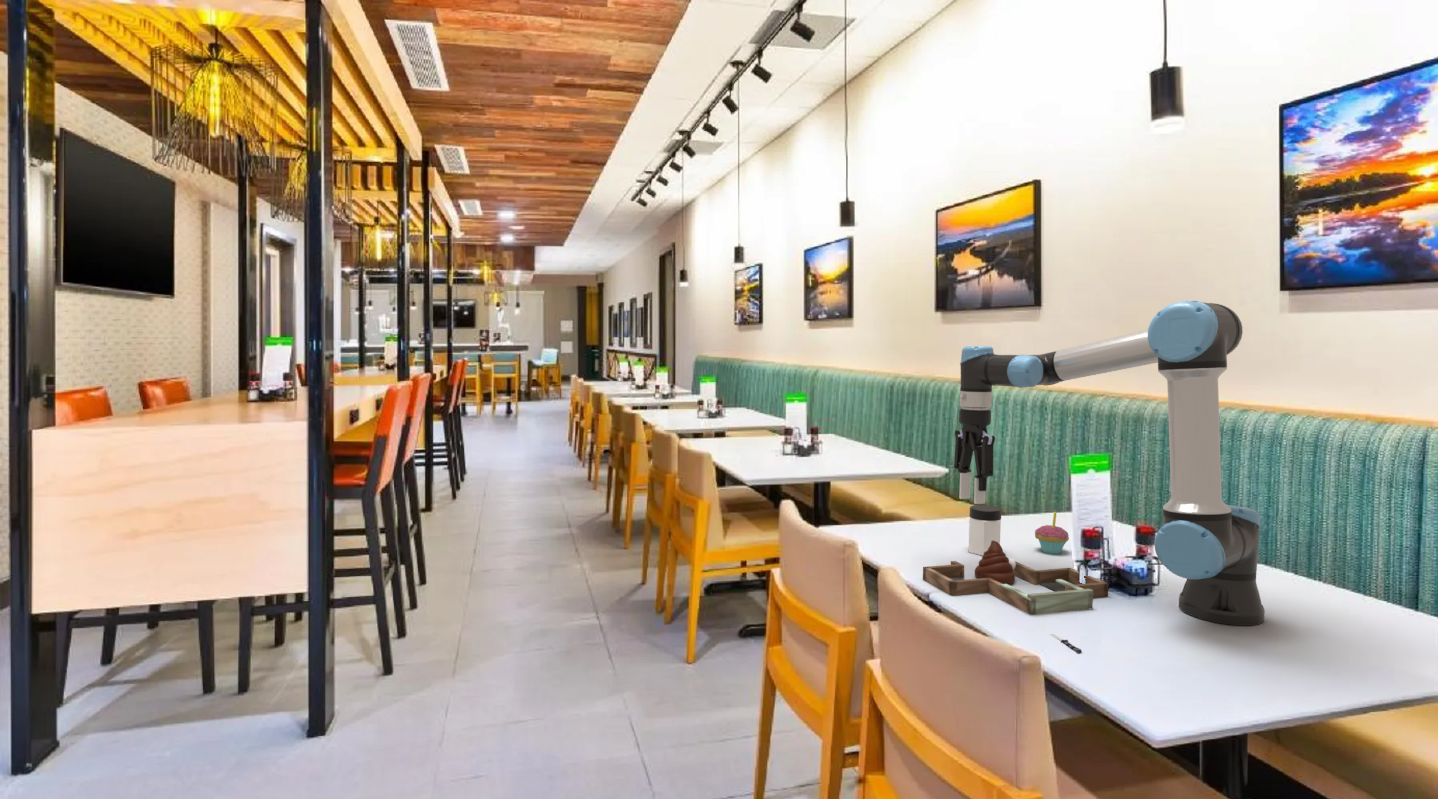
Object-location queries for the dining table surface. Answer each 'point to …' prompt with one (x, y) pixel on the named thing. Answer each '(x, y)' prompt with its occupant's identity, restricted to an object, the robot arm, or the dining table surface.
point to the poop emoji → (996, 565)
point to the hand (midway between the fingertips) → (972, 500)
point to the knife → (1067, 644)
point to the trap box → (1059, 580)
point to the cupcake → (1051, 537)
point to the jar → (983, 527)
